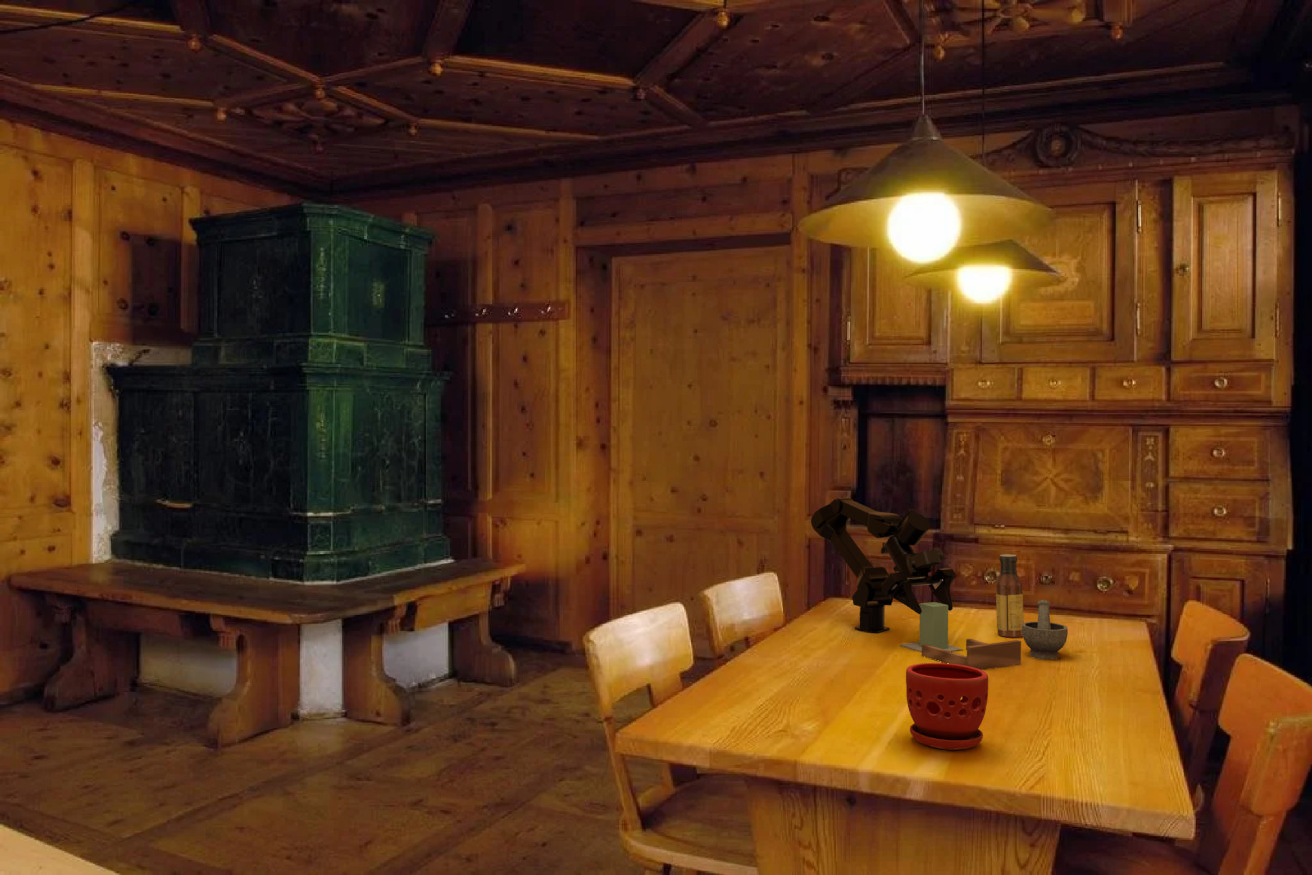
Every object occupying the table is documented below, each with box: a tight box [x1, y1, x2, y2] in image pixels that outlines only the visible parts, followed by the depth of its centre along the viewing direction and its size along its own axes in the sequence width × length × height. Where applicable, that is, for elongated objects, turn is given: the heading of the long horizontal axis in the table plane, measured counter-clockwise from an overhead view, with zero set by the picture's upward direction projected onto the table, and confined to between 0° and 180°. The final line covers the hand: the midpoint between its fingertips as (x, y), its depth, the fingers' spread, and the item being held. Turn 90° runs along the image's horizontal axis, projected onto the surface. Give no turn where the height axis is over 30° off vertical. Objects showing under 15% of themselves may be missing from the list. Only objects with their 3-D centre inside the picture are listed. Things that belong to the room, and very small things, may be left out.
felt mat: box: [899, 641, 964, 653], centre depth 232 cm, size 10×10×1 cm
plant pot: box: [905, 662, 989, 752], centre depth 165 cm, size 13×13×12 cm
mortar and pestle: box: [1022, 599, 1069, 661], centre depth 224 cm, size 11×9×12 cm
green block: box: [918, 601, 949, 649], centre depth 231 cm, size 4×4×10 cm
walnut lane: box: [921, 638, 1022, 671], centre depth 220 cm, size 15×14×5 cm
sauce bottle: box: [995, 553, 1025, 638], centre depth 245 cm, size 7×6×20 cm
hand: (936, 611), depth 230 cm, fingers open, 9 cm apart
